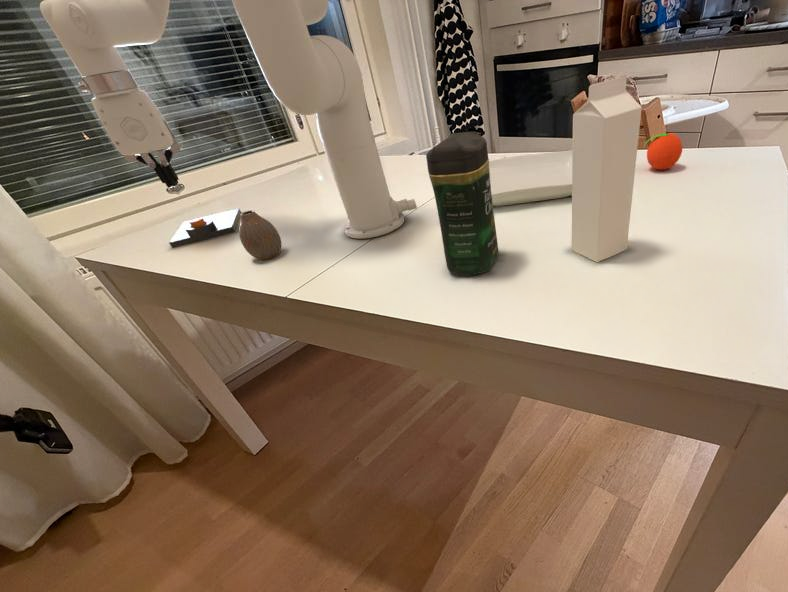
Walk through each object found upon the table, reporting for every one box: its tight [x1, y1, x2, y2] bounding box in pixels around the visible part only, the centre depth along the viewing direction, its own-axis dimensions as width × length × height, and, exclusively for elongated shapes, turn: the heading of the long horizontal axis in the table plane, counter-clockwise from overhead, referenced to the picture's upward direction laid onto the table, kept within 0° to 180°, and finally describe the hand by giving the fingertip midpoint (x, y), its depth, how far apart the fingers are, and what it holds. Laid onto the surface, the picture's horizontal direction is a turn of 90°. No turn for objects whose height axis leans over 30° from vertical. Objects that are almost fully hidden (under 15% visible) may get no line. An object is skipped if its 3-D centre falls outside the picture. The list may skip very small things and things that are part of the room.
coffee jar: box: [425, 131, 499, 276], centre depth 58 cm, size 10×8×19 cm
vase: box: [238, 210, 283, 261], centre depth 77 cm, size 7×7×9 cm
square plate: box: [489, 149, 573, 207], centre depth 88 cm, size 27×27×4 cm
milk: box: [570, 75, 643, 263], centre depth 55 cm, size 6×6×22 cm
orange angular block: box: [188, 216, 206, 228], centre depth 92 cm, size 3×3×2 cm
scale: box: [168, 207, 243, 249], centre depth 98 cm, size 14×16×3 cm
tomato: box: [643, 132, 683, 171], centre depth 84 cm, size 8×7×7 cm
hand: (173, 185), depth 87 cm, fingers closed
